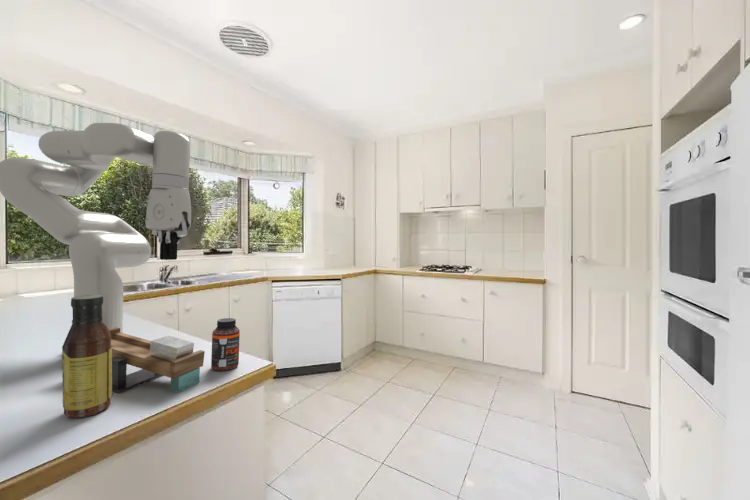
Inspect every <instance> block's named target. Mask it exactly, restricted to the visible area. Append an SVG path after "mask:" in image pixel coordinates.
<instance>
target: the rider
mask: <svg viewBox="0 0 750 500" xmlns="http://www.w3.org/2000/svg"><path fill="white" fill-rule="evenodd" d="M150 341H151V342H150V352H149V356H150V357H154V358H157V359H160V360H164V361H167V362H170V363H171V361H173V360H175V359H178V358H180V357H183V356H186V355H188V354H191V353H194V347H195V342H193V341H189V340H186V339H183V338H178V337H175V336H171V335H167V336H163V337H159V338H156V339H152V340H150Z"/></svg>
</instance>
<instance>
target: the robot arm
mask: <svg viewBox="0 0 750 500" xmlns="http://www.w3.org/2000/svg"><path fill="white" fill-rule="evenodd" d="M38 148H39V150H40V152H41V153H42V154H43V155H44V156H45V157H47V158H48V159H49V160H51V161H54V162H55V163H53V162H48V161H44V160H43V161H42V160H39V159H34V158H27V157H10V158H5V159H3V160H1V161H0V193H1V196H2V197H3V198H4V199H5V200H6V201H7V202H8V203H9V204H11V206H13V208H15V209H17V210H19V211H20V212H22V213H23V214H24V215H26V216H28V217H29V218H30V219H32V220H33V221H34V222H35V223H36V224H37V225H38V226H40V227H41V228H42V229H43V230H45V231H46V232H47V233H48V234H49V235H51V236H52V237H53V238H54V239H55V240H57V241H58V242H59V243H61V244H64V245H68V246H69V247H68V254H69V259H70V262H71V268H72V272H73V273H72V274H73V297H76V296H83V295H102V296H103V304H102V317H103V319H102V322H103V323H104V324H105V325H106V326H107V328H108V329H111V328H115V327H118V328H120V333H123V330H124V328H123V327H124V325H123V324H124V323H123V320H124V283H123V281H122V277H121V276H120V275H119V273H118V271H117V270H116V269H119V268H120V269H121V268H135V267H139V266H142V265H144V264H145V263H147V262H149V259H150V258H151V255H152V247H151V244H150V242H149V241H148V239H147V238H146V237H145V236H144V235H143V234H142V233H140V232H139V231H137V230H136V229H135V228H133V226H131V225H130V224H129V223H127V222H126V221H125V220H124V219H122V218H120V217H118V216H116V215H114V214H111V213H107V212H99V211H98V212H97V211H90V210H89V211H88V210H83V209H79V208H78V207H76V206H74V205H73V204H71V202H69V201H68V200H67V199H65V198H64V196H65V197H77V196H81V195H82V194H84V193H85V192H87V190H88V189H90V187H92V185H93V184H94V183H95V182H96V181H97V180H98V179H99V178H100V177H102V175H103V174H104V173H105V172H106V171H107V169H108V168H109V166H110V164H112V162H114V160H115V159H116V158H120V159H125V160H128V161H131V162H135V163H138V164H141V165H144V166H148V167H152V175H151V176H152V177H151V183H152V184H151V189H150V191H149V195H148V198H147V199H148V200H147V206H146V213H145V228H146V229H148V230H151V234H152V235H154V236H156V237H157V239H158V243H159V245H160V246H159V260H164V261H167V260H168V261H171V260H177V259H178V244H179V243H180V240H181V238H184V237H186V236H188V231H189V230H190V229H191V224H192V204H191V202H192V201H191V195H190V191H189V189H190V163H191V162H190V161H191V159H190V158H191V142H190V140H189V138H188V137H187V136H186V135H183V134H181V133H179V132H175V131H171V130H160V131H157V132H156V133H155V134H154V135H152V134H149V133H147V132H144V131H142V130H139V129H137V128H134V127H132V126H129V125H126V124H122V123H117V122H93V123H91V124H89V125H88V126H86V127H85V128H84V130H51V131H47V132H45V133H43V134H42V135H41V136H40V137H39V139H38ZM56 163H59V164H56ZM60 164H63V165H60ZM66 165H67V166H66ZM62 196H63V197H62Z"/></svg>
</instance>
